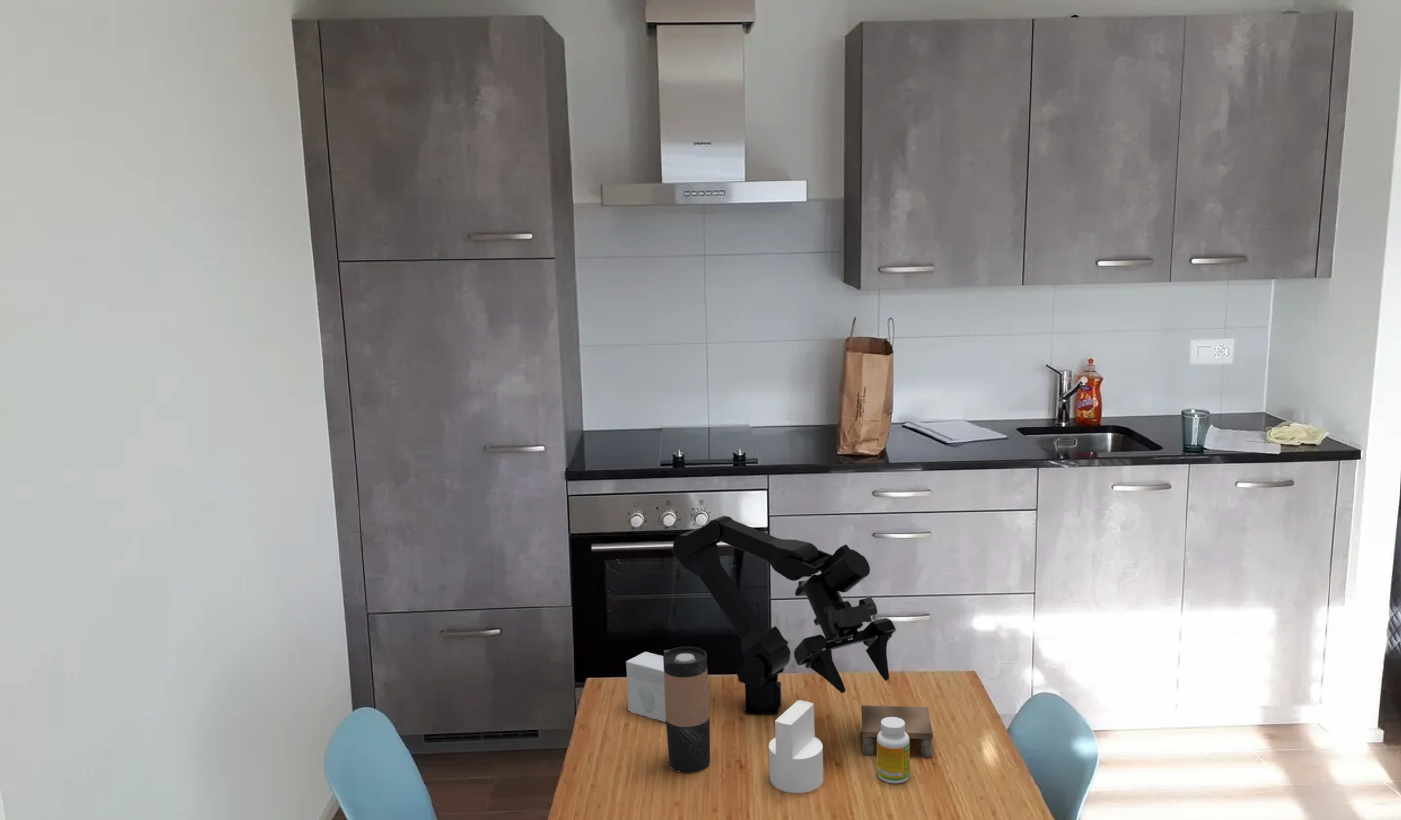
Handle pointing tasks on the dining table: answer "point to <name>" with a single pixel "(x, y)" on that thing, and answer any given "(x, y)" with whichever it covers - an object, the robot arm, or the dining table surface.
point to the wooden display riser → (912, 716)
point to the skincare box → (646, 685)
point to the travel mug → (687, 708)
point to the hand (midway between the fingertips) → (865, 685)
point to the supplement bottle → (893, 751)
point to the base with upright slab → (796, 751)
